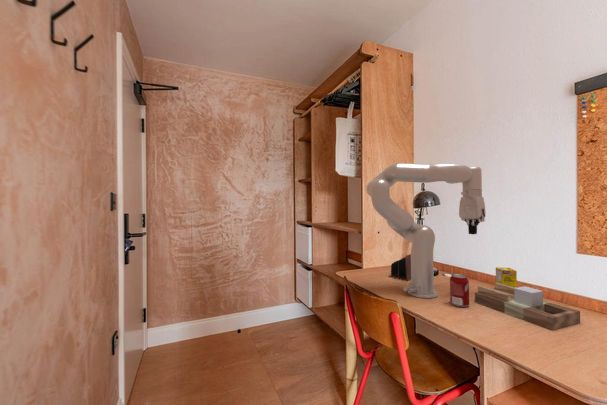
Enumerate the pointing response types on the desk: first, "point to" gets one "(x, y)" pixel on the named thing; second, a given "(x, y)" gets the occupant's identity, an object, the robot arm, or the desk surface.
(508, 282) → the supplement box
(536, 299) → the block
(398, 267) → the letter holder
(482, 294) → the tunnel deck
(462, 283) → the soda can
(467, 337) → the desk surface
